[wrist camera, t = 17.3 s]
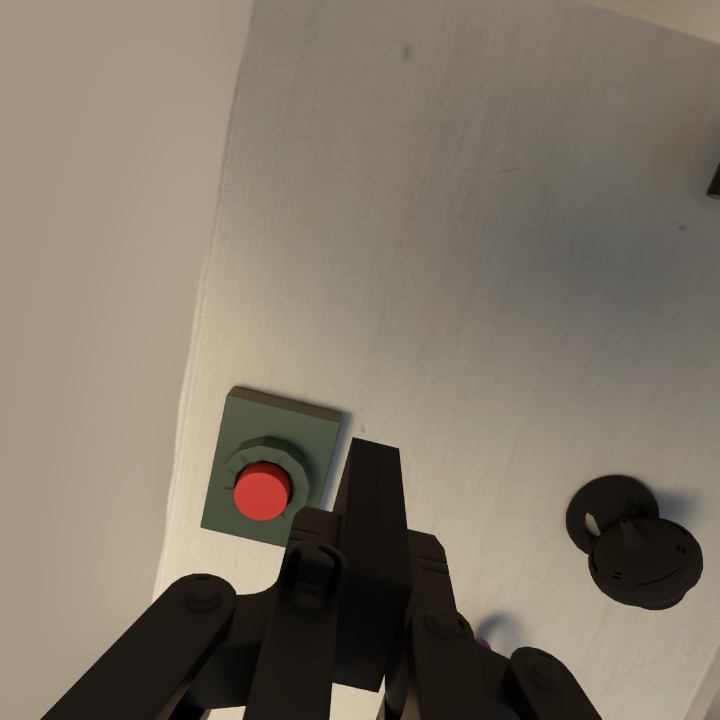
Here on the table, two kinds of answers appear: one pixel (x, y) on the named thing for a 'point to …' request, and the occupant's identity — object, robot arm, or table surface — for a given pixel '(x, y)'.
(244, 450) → the button block
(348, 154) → the table surface
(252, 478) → the red button
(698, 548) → the webcam
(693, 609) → the table surface
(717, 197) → the switch lever
